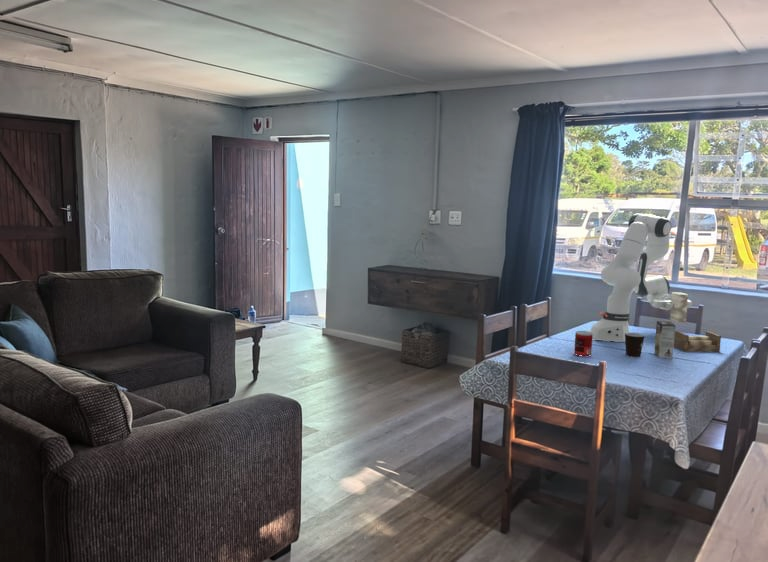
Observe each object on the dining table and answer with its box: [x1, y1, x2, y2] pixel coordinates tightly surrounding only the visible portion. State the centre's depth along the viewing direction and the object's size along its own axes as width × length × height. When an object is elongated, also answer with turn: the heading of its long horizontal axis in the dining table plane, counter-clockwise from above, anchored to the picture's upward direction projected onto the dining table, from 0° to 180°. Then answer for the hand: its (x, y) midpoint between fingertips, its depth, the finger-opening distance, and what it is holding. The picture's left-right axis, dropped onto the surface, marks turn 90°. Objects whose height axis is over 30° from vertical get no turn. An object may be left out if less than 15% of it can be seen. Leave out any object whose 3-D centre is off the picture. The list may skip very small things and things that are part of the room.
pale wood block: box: [669, 291, 689, 324], centre depth 307 cm, size 4×8×15 cm, turn 0°
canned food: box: [573, 330, 593, 356], centre depth 272 cm, size 8×8×11 cm
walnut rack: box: [674, 330, 722, 352], centre depth 288 cm, size 18×10×8 cm, turn 90°
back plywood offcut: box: [688, 335, 709, 340], centre depth 289 cm, size 11×2×6 cm, turn 90°
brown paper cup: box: [624, 332, 645, 358], centre depth 274 cm, size 12×9×10 cm
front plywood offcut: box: [688, 340, 712, 345], centre depth 286 cm, size 11×2×5 cm, turn 90°
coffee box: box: [654, 320, 676, 359], centre depth 273 cm, size 9×6×16 cm
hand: (678, 306), depth 307 cm, fingers closed on pale wood block, 4 cm apart
